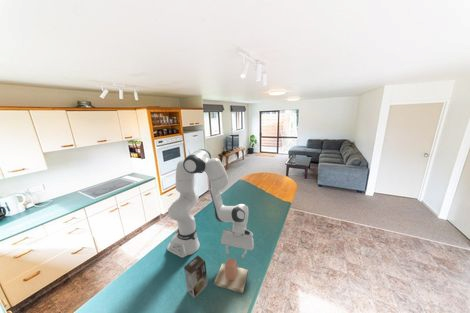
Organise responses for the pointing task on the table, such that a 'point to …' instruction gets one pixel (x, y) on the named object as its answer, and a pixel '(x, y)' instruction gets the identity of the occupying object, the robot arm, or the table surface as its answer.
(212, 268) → the table surface
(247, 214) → the robot arm
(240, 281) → the birch board
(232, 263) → the brick block
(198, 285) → the coffee box
